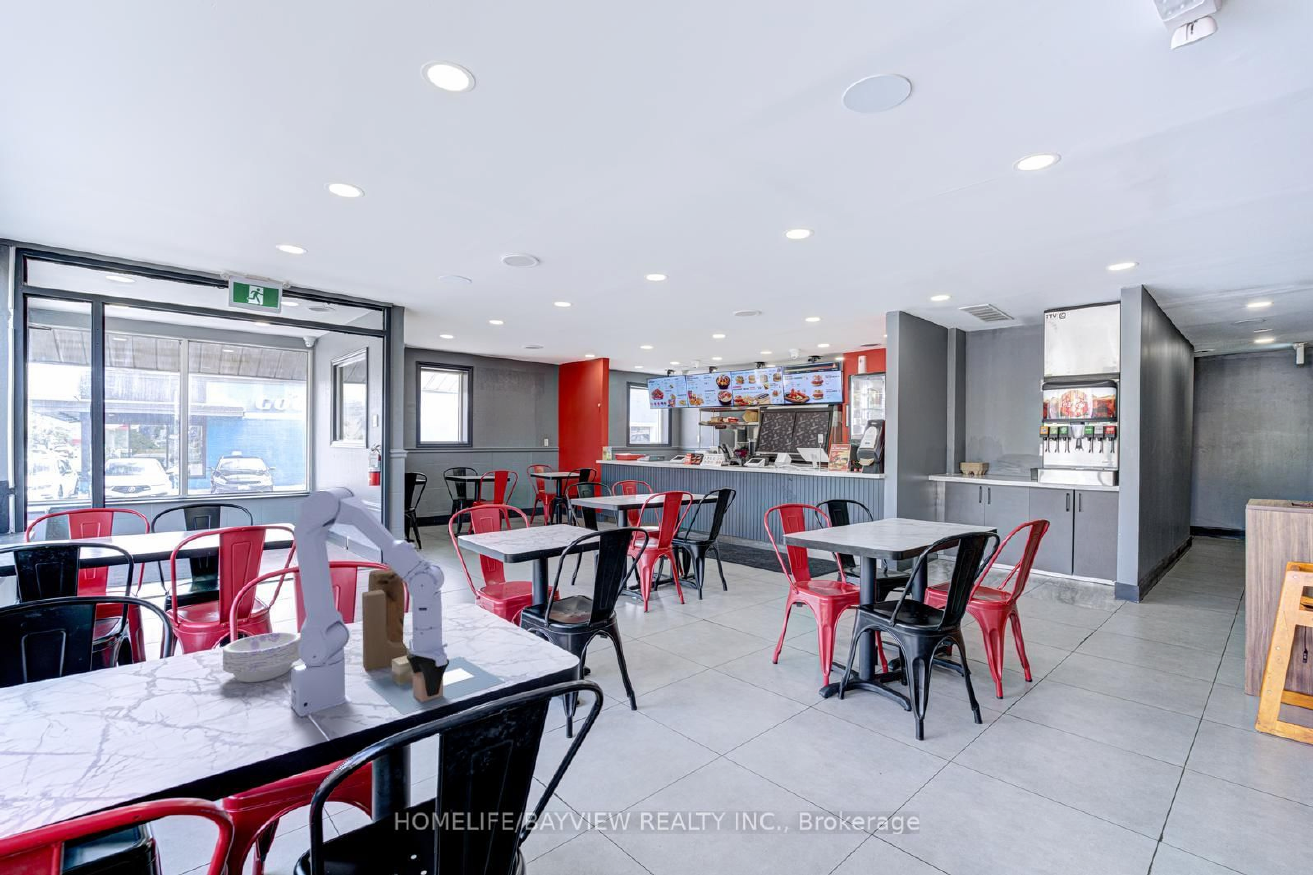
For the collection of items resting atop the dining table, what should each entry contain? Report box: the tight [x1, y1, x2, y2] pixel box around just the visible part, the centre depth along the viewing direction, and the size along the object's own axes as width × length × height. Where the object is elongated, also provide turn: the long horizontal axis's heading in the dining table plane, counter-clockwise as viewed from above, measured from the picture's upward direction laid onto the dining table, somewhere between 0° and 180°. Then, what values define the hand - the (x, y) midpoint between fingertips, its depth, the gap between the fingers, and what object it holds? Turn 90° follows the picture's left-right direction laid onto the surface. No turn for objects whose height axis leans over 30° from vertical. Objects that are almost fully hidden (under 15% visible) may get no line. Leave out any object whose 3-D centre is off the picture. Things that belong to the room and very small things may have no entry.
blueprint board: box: [365, 656, 506, 716], centre depth 133 cm, size 22×22×1 cm
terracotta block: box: [413, 671, 443, 702], centre depth 126 cm, size 4×4×4 cm
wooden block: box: [361, 590, 408, 672], centre depth 144 cm, size 9×4×18 cm, turn 124°
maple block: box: [391, 656, 414, 685], centre depth 135 cm, size 4×4×4 cm
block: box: [367, 568, 406, 643], centre depth 157 cm, size 11×8×20 cm
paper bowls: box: [222, 631, 301, 683], centre depth 140 cm, size 15×15×8 cm
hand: (428, 691), depth 126 cm, fingers closed on terracotta block, 4 cm apart
